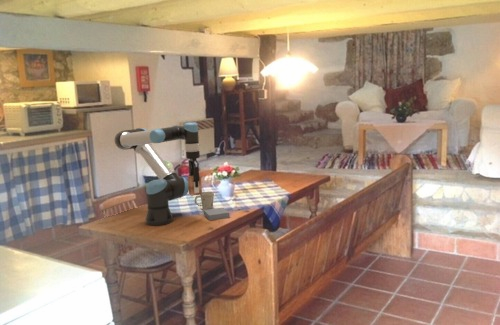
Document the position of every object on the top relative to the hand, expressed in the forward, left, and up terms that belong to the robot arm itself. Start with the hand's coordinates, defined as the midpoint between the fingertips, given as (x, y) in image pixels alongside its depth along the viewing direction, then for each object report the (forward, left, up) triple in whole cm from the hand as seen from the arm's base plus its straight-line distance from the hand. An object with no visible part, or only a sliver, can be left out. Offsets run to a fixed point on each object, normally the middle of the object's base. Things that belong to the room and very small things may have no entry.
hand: (195, 191), depth 266 cm
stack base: (+12, +2, -17) cm, 21 cm away
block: (0, 0, -1) cm, 1 cm away
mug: (+10, +21, -17) cm, 29 cm away
